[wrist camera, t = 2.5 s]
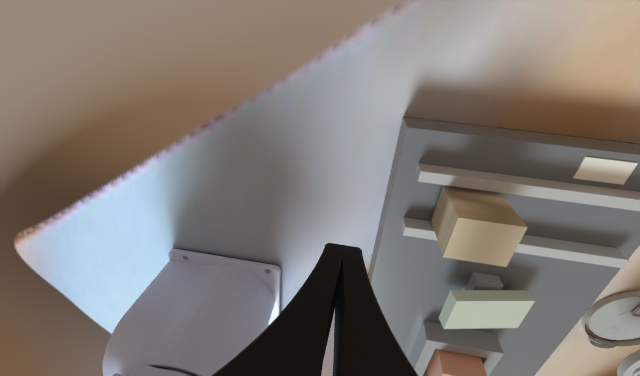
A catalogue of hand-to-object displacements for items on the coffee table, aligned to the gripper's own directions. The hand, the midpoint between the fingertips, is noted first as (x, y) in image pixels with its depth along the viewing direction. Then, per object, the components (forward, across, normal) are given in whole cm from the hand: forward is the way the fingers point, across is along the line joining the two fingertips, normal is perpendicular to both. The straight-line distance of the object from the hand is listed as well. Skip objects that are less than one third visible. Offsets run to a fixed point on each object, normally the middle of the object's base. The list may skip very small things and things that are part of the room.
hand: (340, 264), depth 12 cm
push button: (+5, -9, +13) cm, 17 cm away
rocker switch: (+5, -10, +7) cm, 13 cm away
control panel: (+8, -10, +6) cm, 14 cm away
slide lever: (+6, -6, 0) cm, 9 cm away
